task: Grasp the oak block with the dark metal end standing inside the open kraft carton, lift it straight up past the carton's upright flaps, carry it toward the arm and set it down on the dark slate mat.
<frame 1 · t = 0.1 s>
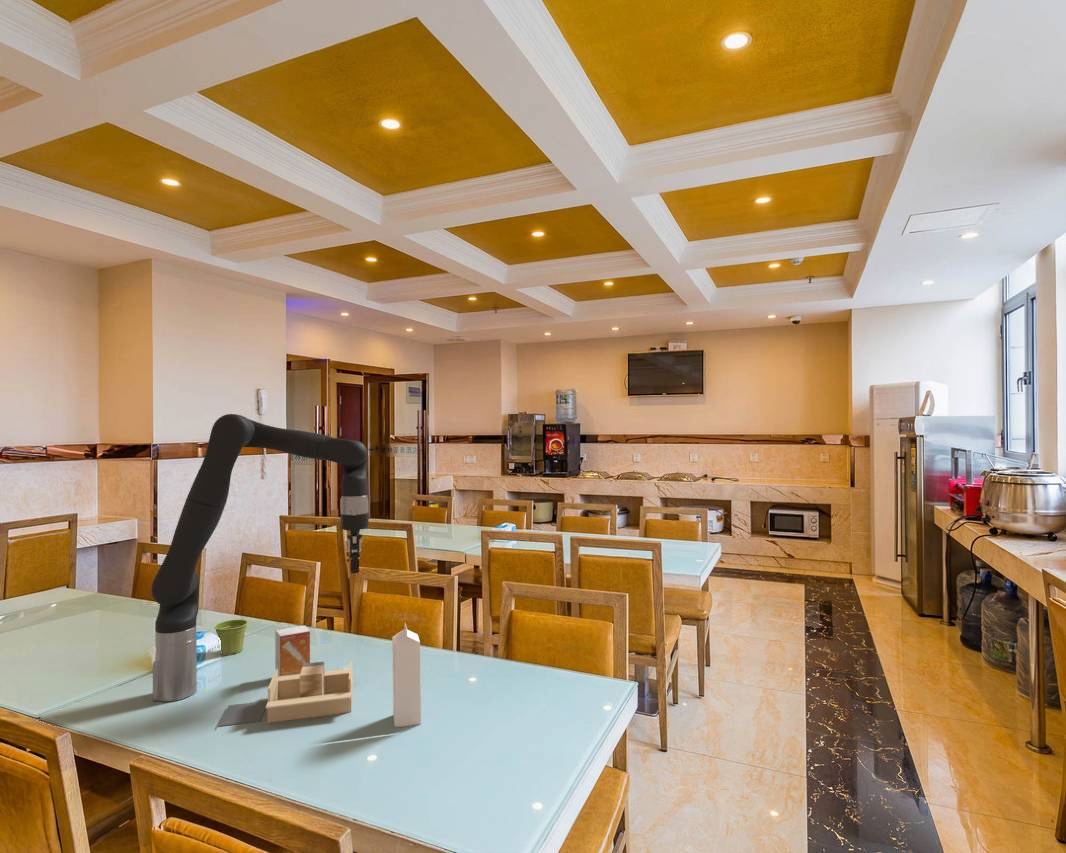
hand: (355, 569, 169), 29 cm above the table, fingers open, 8 cm apart
plant pot: (231, 652, 188), on the table
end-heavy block: (312, 705, 149), resting on carton
milk: (407, 721, 141), on the table
small box: (292, 678, 167), on the table
slate mat: (244, 715, 145), on the table
carton: (312, 706, 149), on the table
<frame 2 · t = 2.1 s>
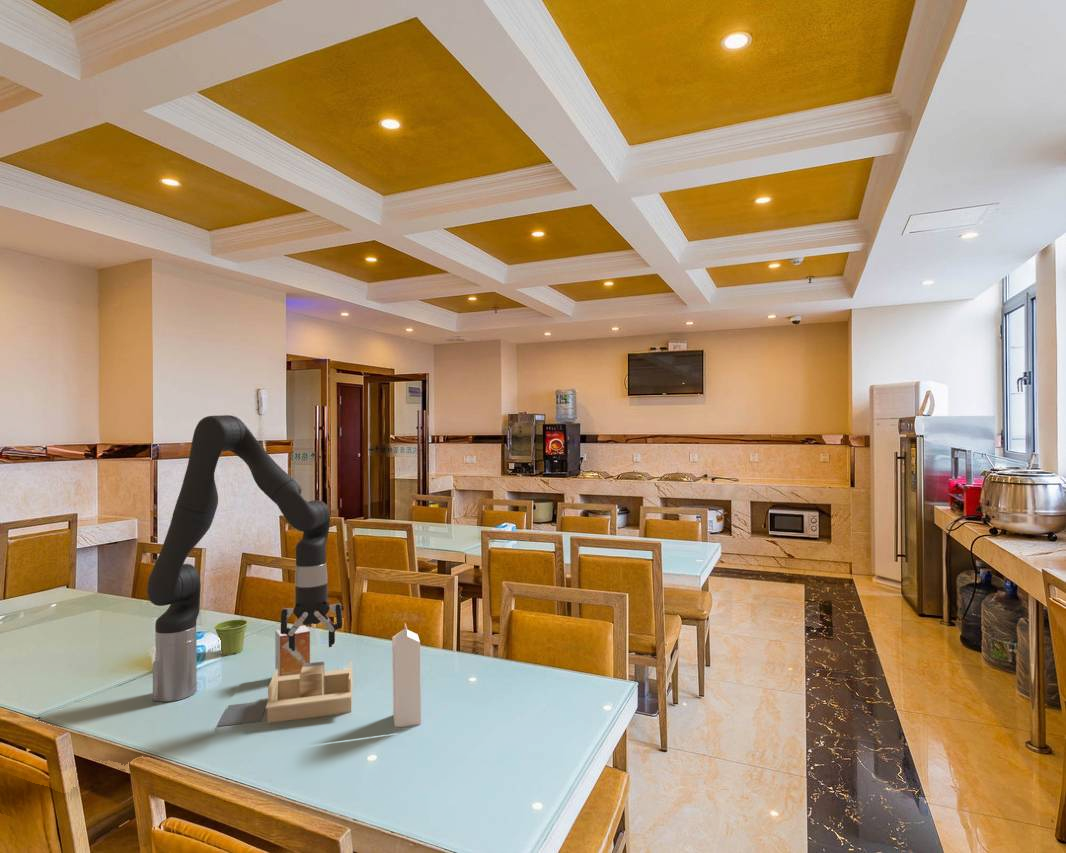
hand: (312, 648, 149), 14 cm above the table, fingers open, 8 cm apart
nothing on the table moved.
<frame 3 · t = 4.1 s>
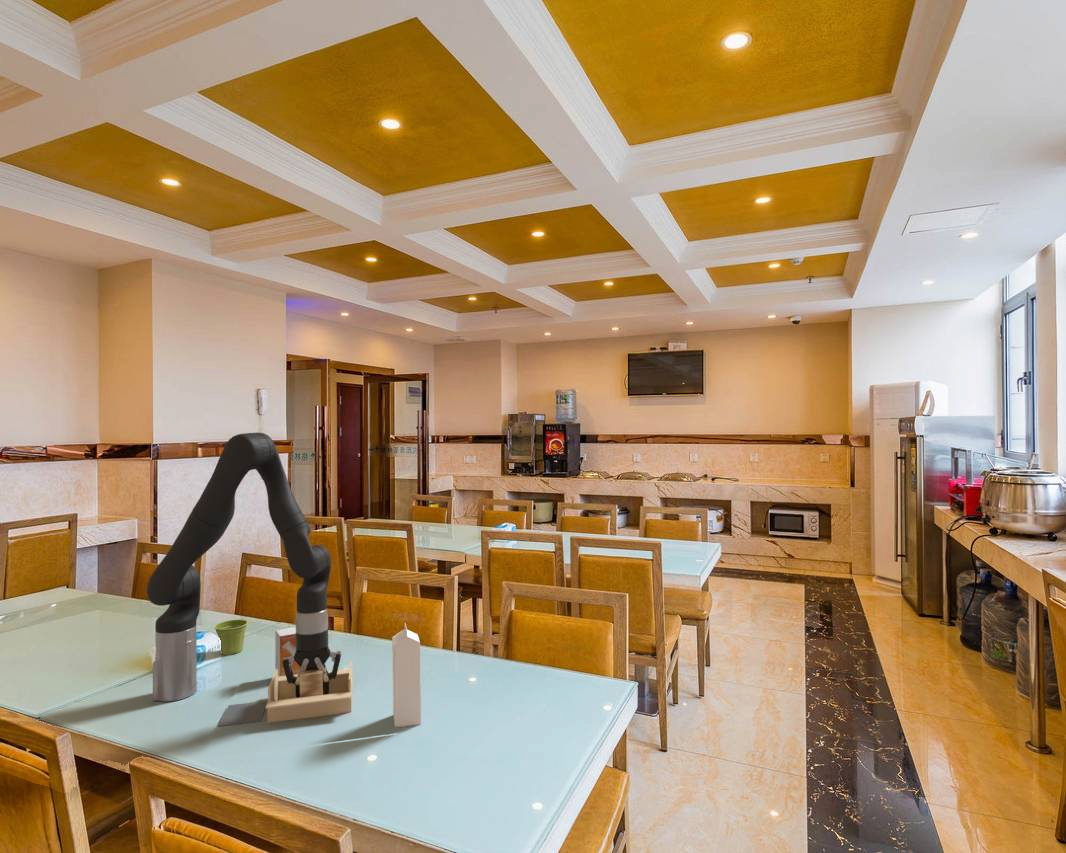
hand: (312, 696, 149), 2 cm above the table, fingers closed on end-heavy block, 5 cm apart
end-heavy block: (312, 705, 149), resting on carton, touching gripper
everything else where it was.
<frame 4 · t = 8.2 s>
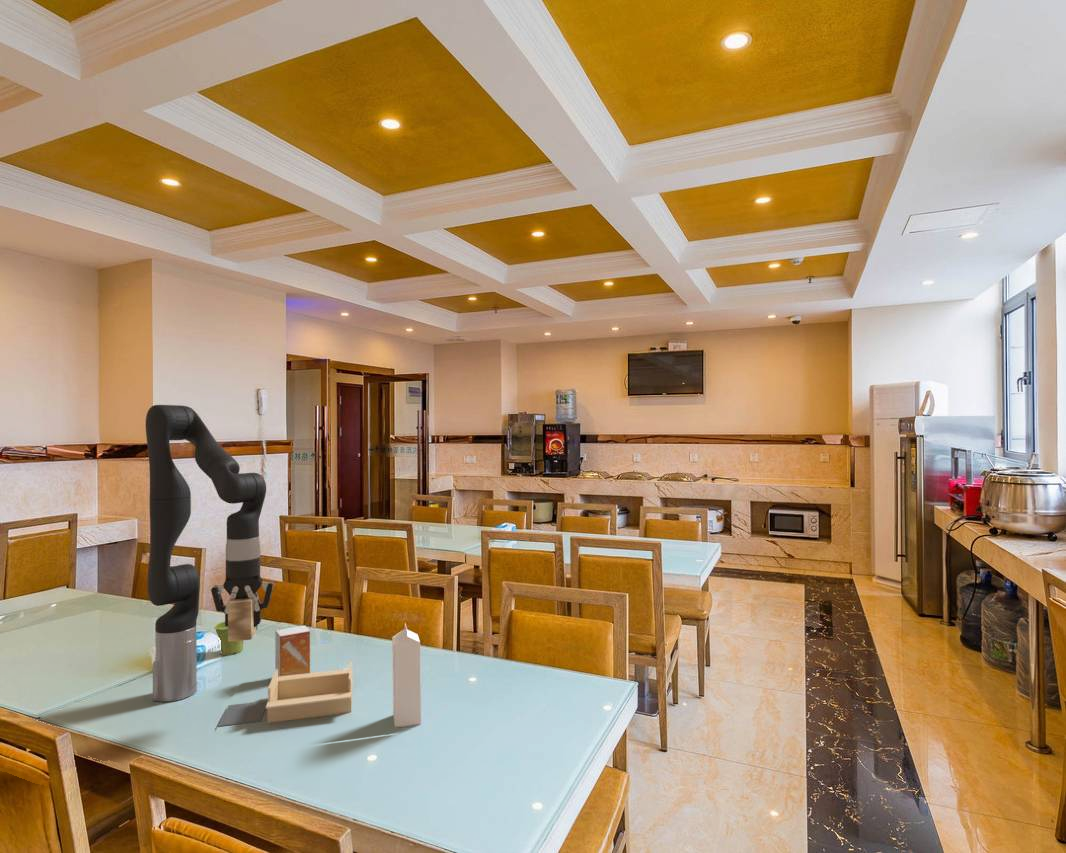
hand: (243, 626, 145), 21 cm above the table, fingers closed on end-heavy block, 5 cm apart
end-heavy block: (243, 635, 145), point 19 cm above the table, touching gripper
everything else where it was.
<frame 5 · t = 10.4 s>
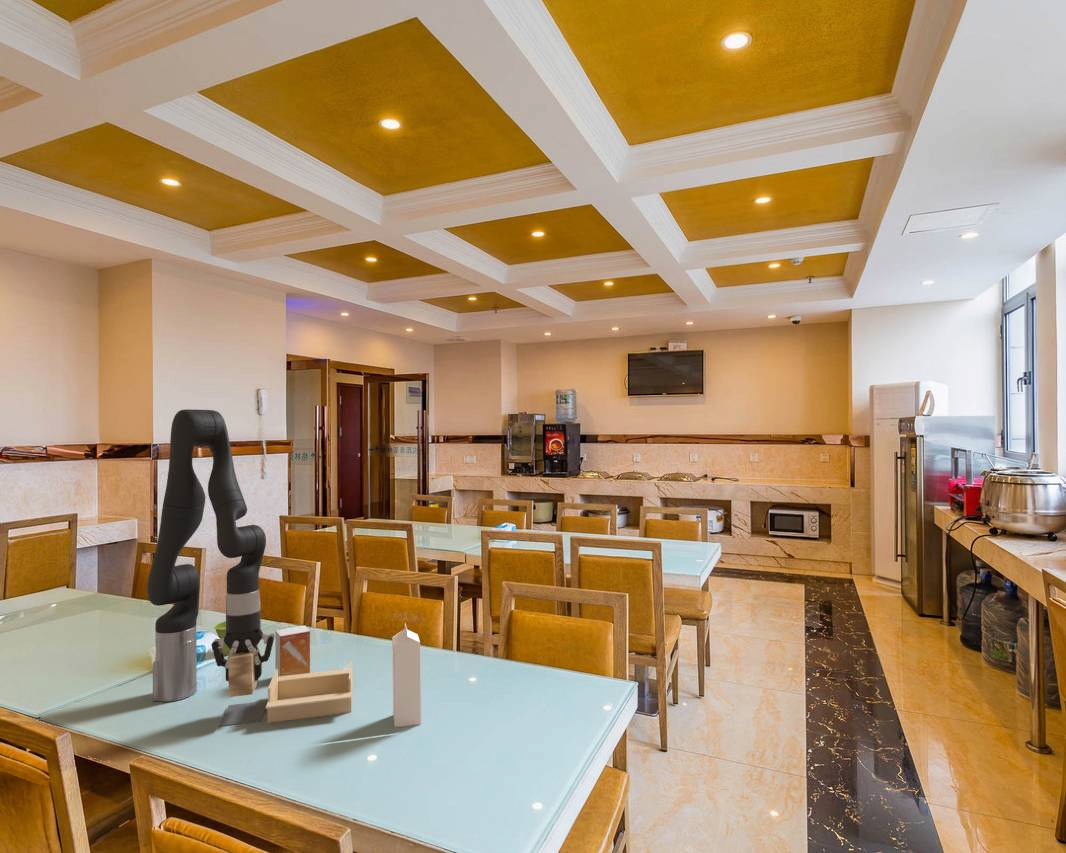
hand: (244, 680, 145), 8 cm above the table, fingers closed on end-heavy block, 5 cm apart
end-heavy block: (244, 688, 145), point 6 cm above the table, touching gripper
everything else where it was.
when the fingers open (4 cm above the table, at t = 12.3 s): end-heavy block drops 1 cm, resting on slate mat.
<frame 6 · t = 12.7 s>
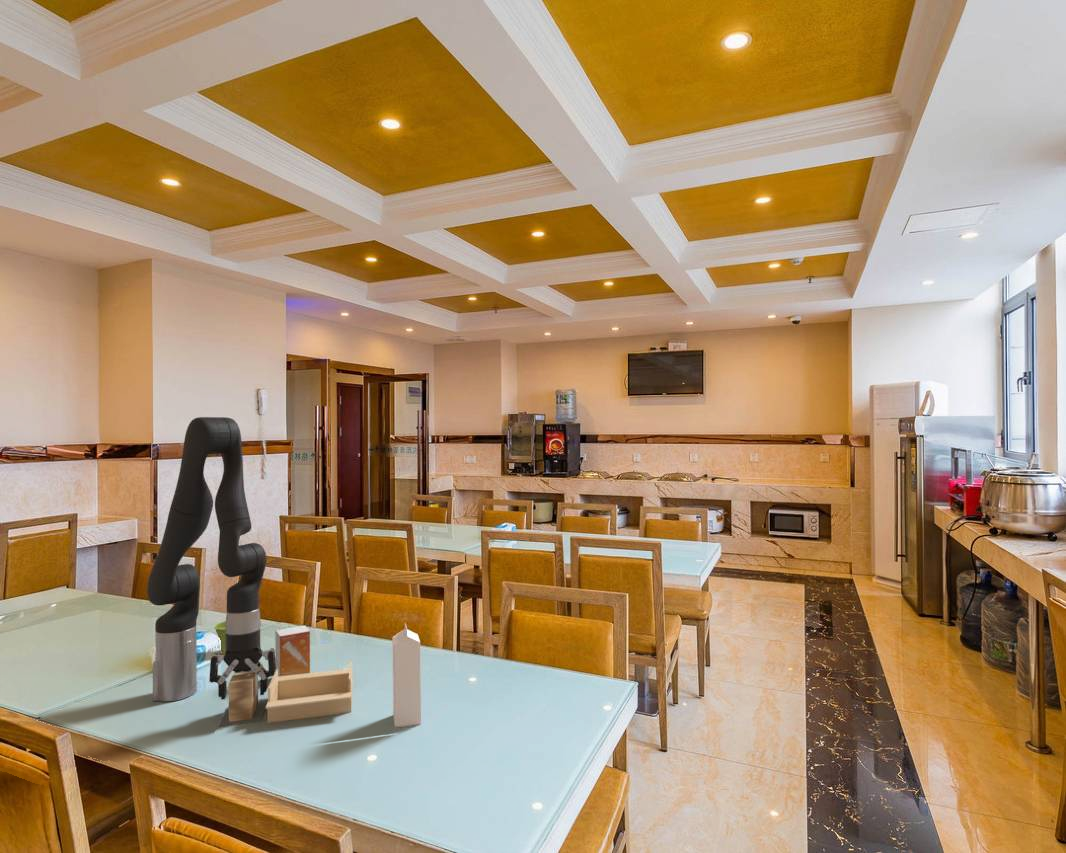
hand: (243, 696, 145), 5 cm above the table, fingers open, 8 cm apart
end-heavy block: (244, 712, 145), point 1 cm above the table, touching slate mat
everything else where it was.
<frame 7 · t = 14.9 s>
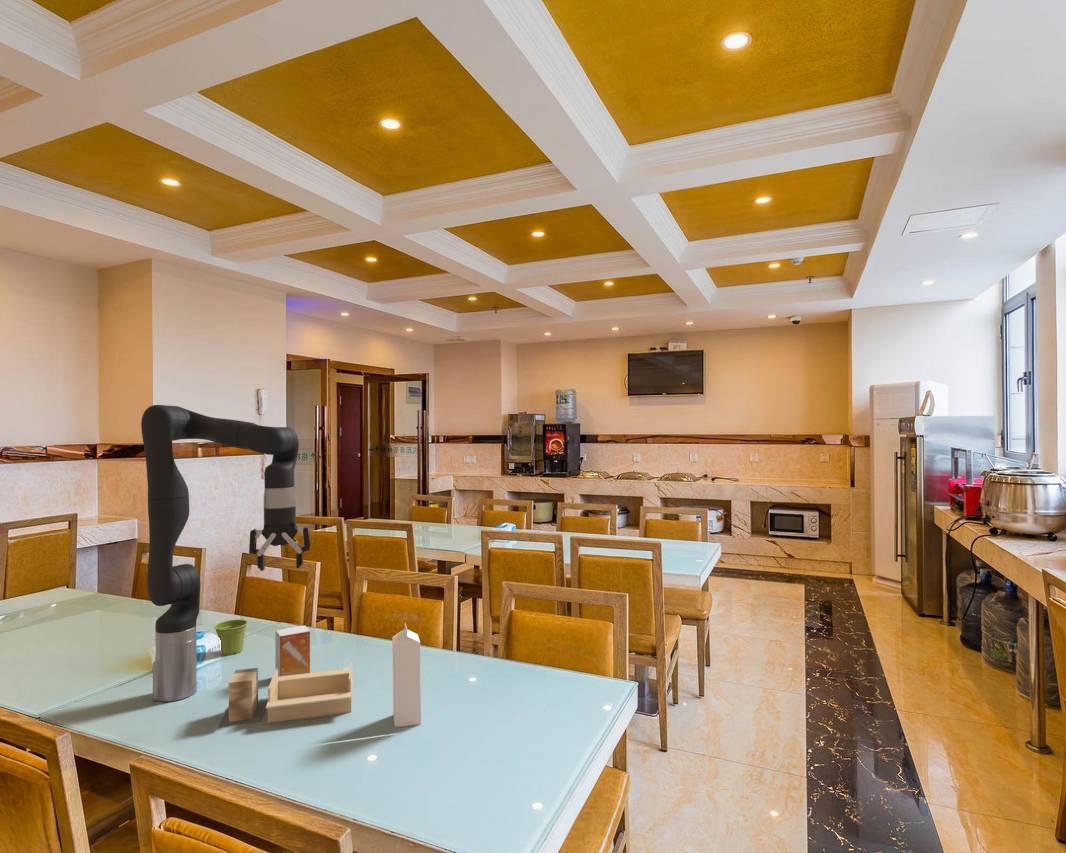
hand: (280, 569, 154), 33 cm above the table, fingers open, 8 cm apart
nothing on the table moved.
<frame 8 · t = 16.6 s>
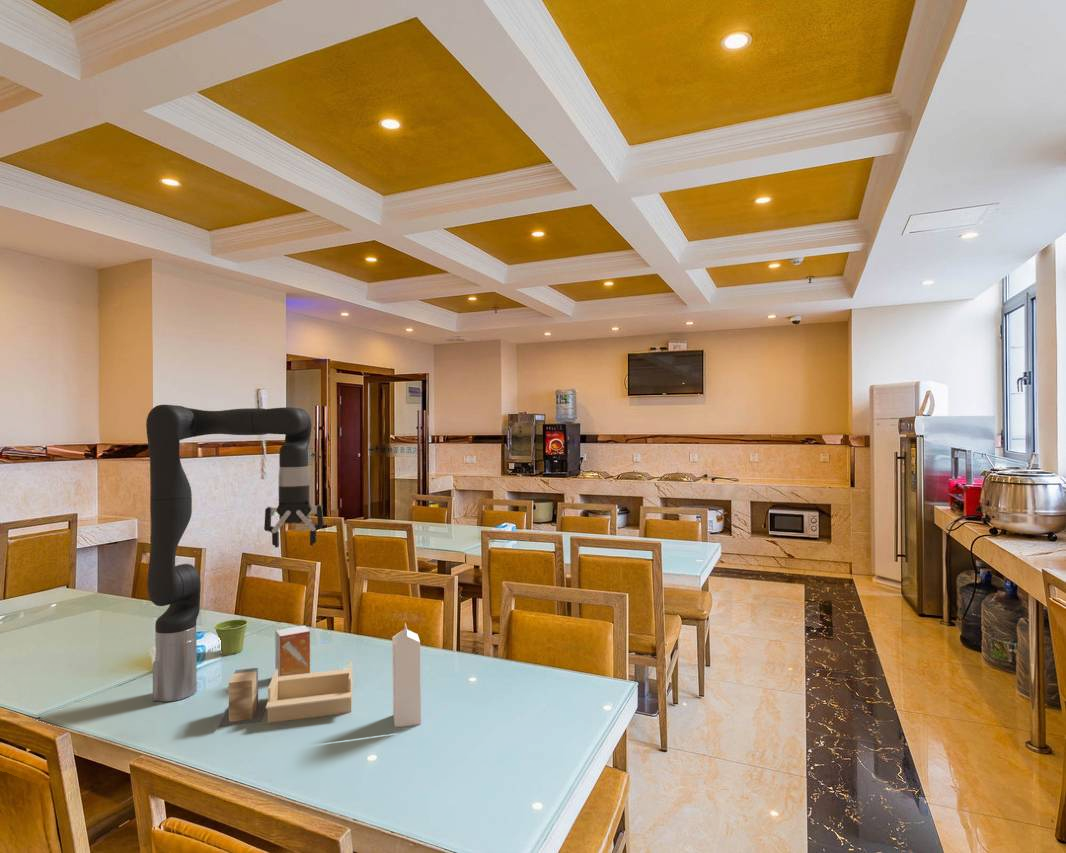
hand: (294, 546, 158), 38 cm above the table, fingers open, 8 cm apart
nothing on the table moved.
at the end: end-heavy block inside the target area on the slate mat (0.0 cm from its centre), point 0.6 cm above the slate mat's base; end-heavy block tilted 0°; the gripper is holding nothing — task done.
